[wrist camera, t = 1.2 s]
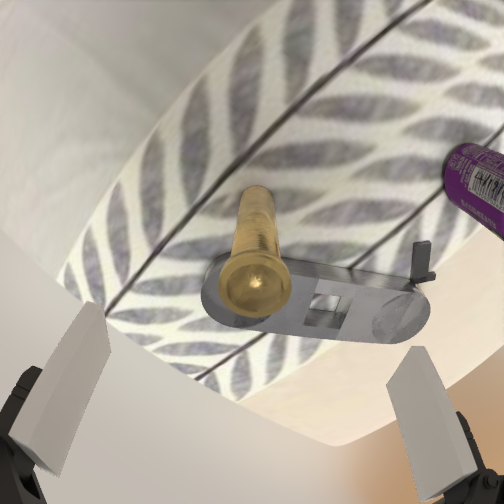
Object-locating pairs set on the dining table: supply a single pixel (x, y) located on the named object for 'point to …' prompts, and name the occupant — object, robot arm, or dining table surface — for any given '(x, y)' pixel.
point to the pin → (255, 260)
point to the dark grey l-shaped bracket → (421, 263)
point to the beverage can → (478, 185)
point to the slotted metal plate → (347, 312)
